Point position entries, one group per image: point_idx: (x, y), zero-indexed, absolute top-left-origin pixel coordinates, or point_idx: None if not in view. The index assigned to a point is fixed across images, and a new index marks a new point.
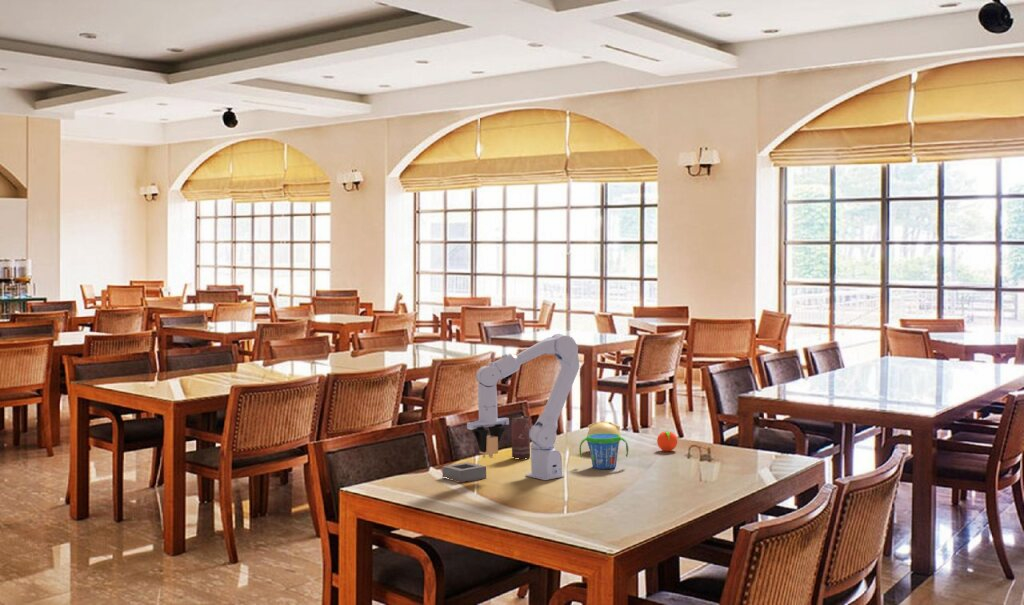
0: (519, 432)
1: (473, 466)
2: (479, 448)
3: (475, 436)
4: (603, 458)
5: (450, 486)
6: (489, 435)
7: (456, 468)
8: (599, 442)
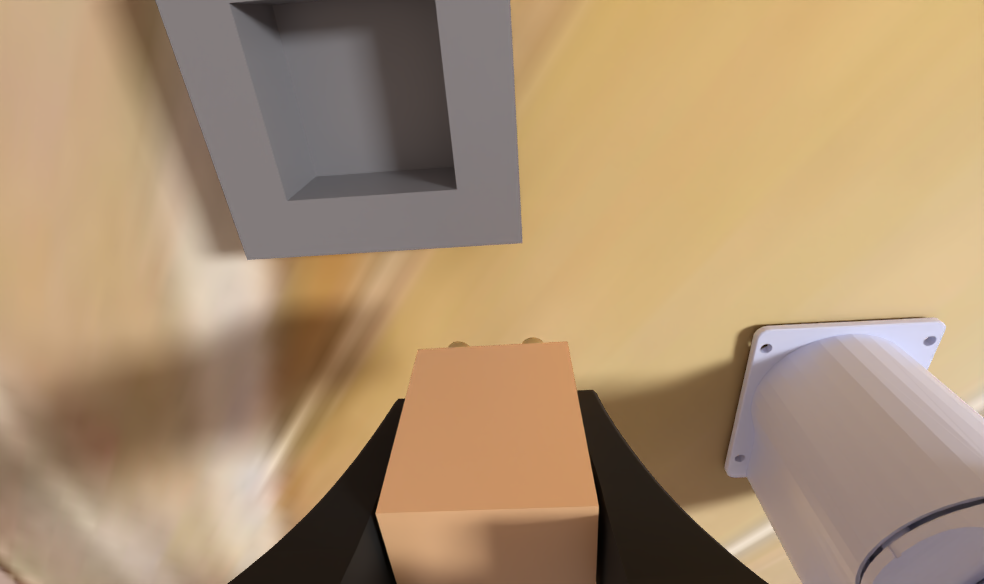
0: None
1: (450, 131)
2: (385, 420)
3: (282, 547)
4: None
5: (187, 269)
6: (582, 516)
7: (246, 146)
8: None
